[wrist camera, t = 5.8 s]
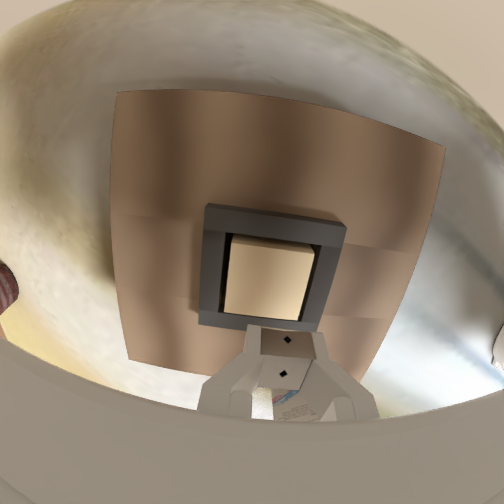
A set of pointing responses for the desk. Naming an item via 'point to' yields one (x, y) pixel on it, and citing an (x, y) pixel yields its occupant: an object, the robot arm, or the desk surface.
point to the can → (7, 288)
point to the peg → (267, 276)
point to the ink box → (291, 406)
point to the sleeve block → (260, 219)
